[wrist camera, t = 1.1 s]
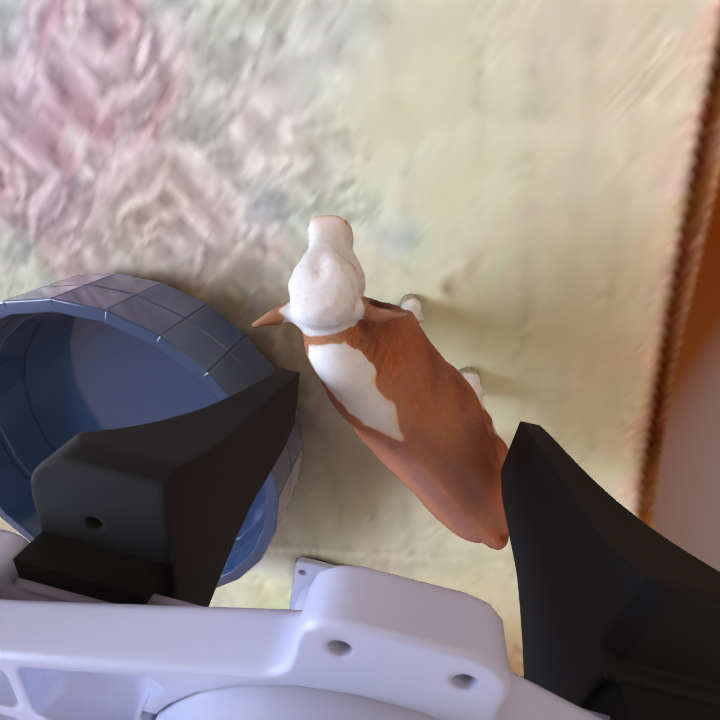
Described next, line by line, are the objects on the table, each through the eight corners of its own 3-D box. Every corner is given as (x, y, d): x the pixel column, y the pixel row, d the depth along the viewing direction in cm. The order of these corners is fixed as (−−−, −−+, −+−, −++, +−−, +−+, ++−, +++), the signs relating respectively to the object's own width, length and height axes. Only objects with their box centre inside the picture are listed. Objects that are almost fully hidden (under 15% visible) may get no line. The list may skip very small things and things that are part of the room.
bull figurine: (376, 180, 17) (330, 202, 10) (520, 432, 21) (563, 581, 14) (291, 238, 19) (197, 294, 11) (439, 462, 22) (440, 610, 15)
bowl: (292, 557, 28) (267, 625, 24) (47, 494, 29) (-15, 549, 25) (321, 310, 20) (292, 350, 16) (-16, 240, 21) (-121, 260, 17)
